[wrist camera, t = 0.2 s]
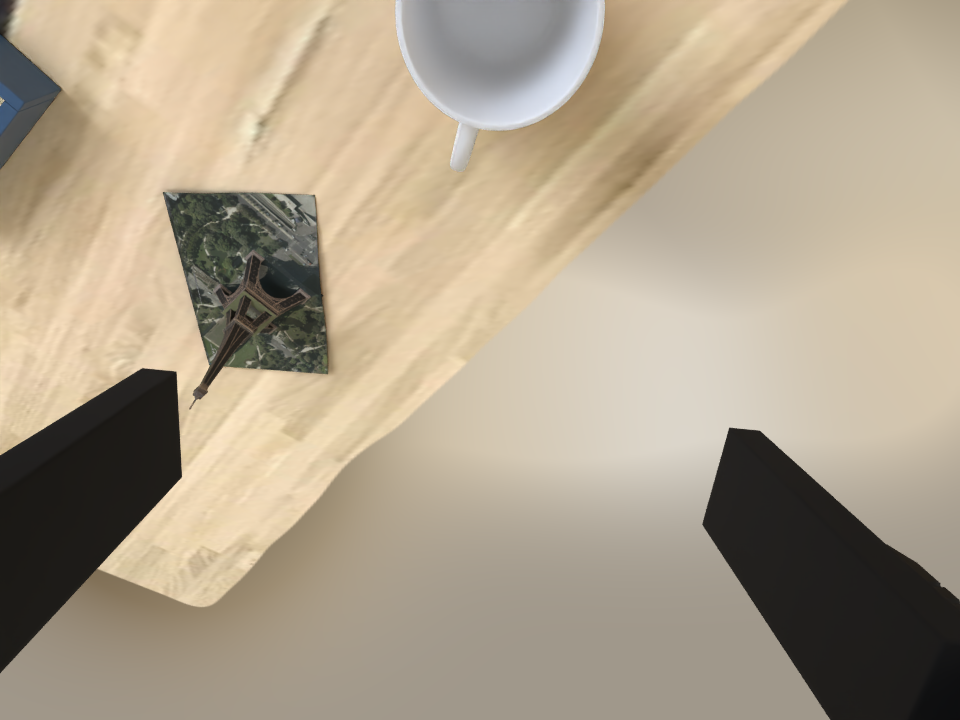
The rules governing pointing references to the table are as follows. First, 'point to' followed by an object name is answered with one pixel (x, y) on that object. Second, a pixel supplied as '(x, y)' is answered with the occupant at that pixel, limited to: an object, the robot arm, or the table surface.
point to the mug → (497, 59)
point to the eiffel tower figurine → (252, 279)
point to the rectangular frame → (20, 97)
